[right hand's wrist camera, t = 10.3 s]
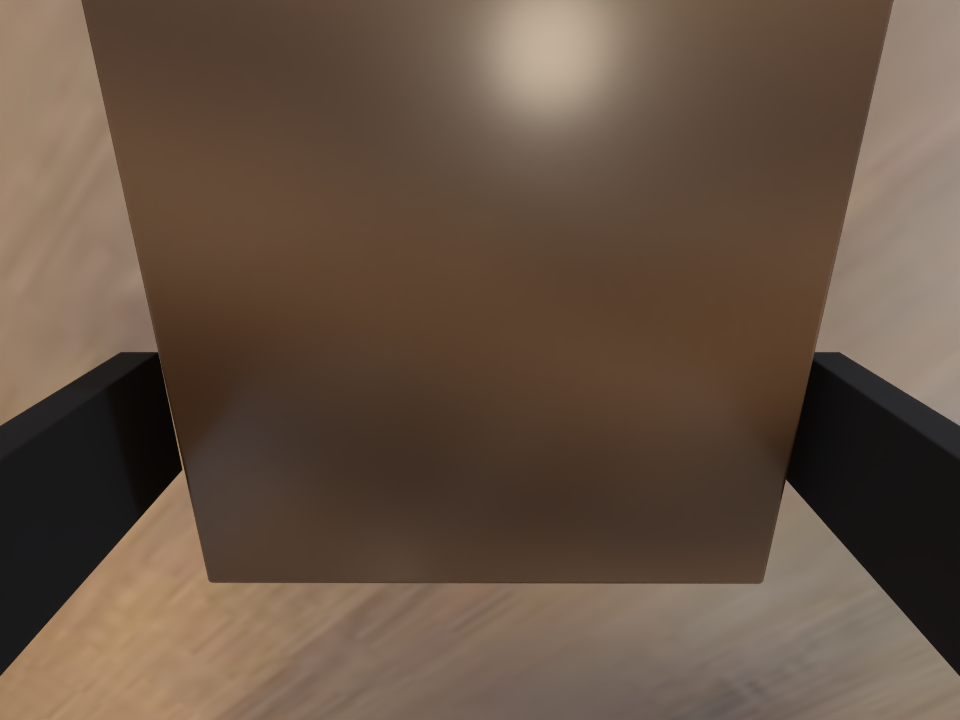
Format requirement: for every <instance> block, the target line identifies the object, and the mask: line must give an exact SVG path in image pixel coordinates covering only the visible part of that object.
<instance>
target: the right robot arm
mask: <svg viewBox="0 0 960 720" xmlns="http://www.w3.org/2000/svg"><path fill="white" fill-rule="evenodd" d="M181 471H182V465H181V460H180V456H179V451H178V446H177V441H176V436H175V431H174V426H173V422H172V417H171V412H170V407H169V402H168V397H167V393H166V388H165V383H164V378H163V373H162V368H161V363H160V359H159V354H158V352H120V353H119V354H117V355H116V356H114V357H112V358H111V359H109V360H107V361H106V362H104V363H102V364H101V365H99V366H98V367H96V368H94V369H93V370H91V371H89V372H88V373H86V374H84V375H83V376H81V377H80V378H78V379H76V380H75V381H73V382H71V383H70V384H68V385H67V386H65V387H63V388H62V389H60V390H58V391H57V392H55V393H53V394H52V395H50V396H49V397H47V398H45V399H44V400H42V401H40V402H39V403H37V404H35V405H34V406H32V407H31V408H29V409H27V410H26V411H24V412H22V413H21V414H19V415H17V416H16V417H14V418H13V419H11V420H9V421H8V422H6V423H4V424H3V425H1V426H0V676H1V675H2V674H3V672H4V671H5V670H6V669H7V668H8V667H9V666H10V664H11V663H12V662H13V661H14V660H15V659H16V658H17V657H18V655H19V654H20V653H21V652H22V651H23V650H24V649H25V647H26V646H27V645H28V644H29V643H30V642H31V641H32V640H33V638H34V637H35V636H36V635H37V634H38V633H39V632H40V631H41V629H42V628H43V627H44V626H45V625H46V624H47V623H48V621H49V620H50V619H51V618H52V617H53V616H54V615H55V614H56V612H57V611H58V610H59V609H60V608H61V607H62V606H63V604H64V603H65V602H66V601H67V600H68V599H69V598H70V597H71V595H72V594H73V593H74V592H75V591H76V590H77V589H78V587H79V586H80V585H81V584H82V583H83V582H84V581H85V580H86V578H87V577H88V576H89V575H90V574H91V573H92V572H93V570H94V569H95V568H96V567H97V566H98V565H99V564H100V563H101V561H102V560H103V559H104V558H105V557H106V556H107V555H108V553H109V552H110V551H111V550H112V549H113V548H114V547H115V546H116V544H117V543H118V542H119V541H120V540H121V539H122V538H123V536H124V535H125V534H126V533H127V532H128V531H129V530H130V529H131V527H132V526H133V525H134V524H135V523H136V522H137V521H138V519H139V518H140V517H141V516H142V515H143V514H144V513H145V512H146V510H147V509H148V508H149V507H150V506H151V505H152V504H153V502H154V501H155V500H156V499H157V498H158V497H159V496H160V495H161V493H162V492H163V491H164V490H165V489H166V488H167V487H168V485H169V484H170V483H171V482H172V481H173V480H174V479H175V478H176V476H177V475H178V474H179V473H180V472H181ZM786 480H787V481H788V482H789V483H790V484H791V485H792V487H793V488H794V489H795V490H796V491H797V492H798V493H799V495H800V496H801V497H802V498H803V499H804V500H805V501H806V502H807V504H808V505H809V506H810V507H811V508H812V509H813V510H814V512H815V513H816V514H817V515H818V516H819V517H820V518H821V519H822V521H823V522H824V523H825V524H826V525H827V526H828V527H829V529H830V530H831V531H832V532H833V533H834V534H835V535H836V536H837V538H838V539H839V540H840V541H841V542H842V543H843V544H844V546H845V547H846V548H847V549H848V550H849V551H850V552H851V553H852V555H853V556H854V557H855V558H856V559H857V560H858V561H859V563H860V564H861V565H862V566H863V567H864V568H865V569H866V570H867V572H868V573H869V574H870V575H871V576H872V577H873V578H874V580H875V581H876V582H877V583H878V584H879V585H880V586H881V587H882V589H883V590H884V591H885V592H886V593H887V594H888V595H889V597H890V598H891V599H892V600H893V601H894V602H895V603H896V604H897V606H898V607H899V608H900V609H901V610H902V611H903V612H904V614H905V615H906V616H907V617H908V618H909V619H910V620H911V621H912V623H913V624H914V625H915V626H916V627H917V628H918V629H919V631H920V632H921V633H922V634H923V635H924V636H925V637H926V638H927V640H928V641H929V642H930V643H931V644H932V645H933V646H934V647H935V649H936V650H937V651H938V652H939V653H940V654H941V655H942V657H943V658H944V659H945V660H946V661H947V662H948V663H949V664H950V666H951V667H952V668H953V669H954V670H955V671H956V672H957V674H958V675H959V676H960V426H959V425H957V424H956V423H954V422H952V421H951V420H949V419H947V418H946V417H944V416H943V415H941V414H939V413H938V412H936V411H934V410H933V409H931V408H929V407H928V406H926V405H925V404H923V403H921V402H920V401H918V400H916V399H915V398H913V397H911V396H910V395H908V394H907V393H905V392H903V391H902V390H900V389H898V388H897V387H895V386H893V385H892V384H890V383H889V382H887V381H885V380H884V379H882V378H880V377H879V376H877V375H875V374H874V373H872V372H871V371H869V370H867V369H866V368H864V367H862V366H861V365H859V364H858V363H856V362H854V361H853V360H851V359H849V358H848V357H846V356H844V355H843V354H841V353H840V352H814V356H813V361H812V365H811V370H810V374H809V378H808V383H807V387H806V392H805V396H804V401H803V405H802V410H801V414H800V418H799V423H798V427H797V432H796V436H795V441H794V445H793V450H792V454H791V458H790V463H789V467H788V472H787V476H786Z"/></svg>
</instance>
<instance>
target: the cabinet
mask: <svg viewBox="0 0 960 720" xmlns="http://www.w3.org/2000/svg"><path fill="white" fill-rule="evenodd" d="M82 4H83V9H84V14H85V18H86V23H87V27H88V32H89V36H90V41H91V46H92V50H93V55H94V59H95V64H96V68H97V73H98V77H99V82H100V87H101V91H102V96H103V100H104V105H105V109H106V114H107V119H108V123H109V128H110V132H111V137H112V141H113V146H114V151H115V155H116V160H117V164H118V169H119V173H120V178H121V182H122V187H123V192H124V196H125V201H126V205H127V210H128V214H129V219H130V224H131V228H132V233H133V237H134V242H135V246H136V251H137V256H138V260H139V265H140V269H141V274H142V278H143V283H144V288H145V292H146V297H147V301H148V306H149V310H150V315H151V319H152V324H153V329H154V333H155V338H156V342H157V347H158V351H159V356H160V361H161V365H162V370H163V374H164V379H165V383H166V388H167V393H168V397H169V402H170V406H171V411H172V415H173V420H174V424H175V429H176V434H177V438H178V443H179V447H180V452H181V456H182V461H183V466H184V470H185V475H186V479H187V484H188V488H189V493H190V498H191V502H192V507H193V511H194V516H195V520H196V525H197V529H198V534H199V539H200V543H201V548H202V552H203V557H204V561H205V566H206V571H207V575H208V580H209V581H210V582H212V583H718V584H759V583H762V582H763V579H764V574H765V570H766V565H767V561H768V556H769V552H770V547H771V543H772V539H773V534H774V530H775V525H776V521H777V516H778V512H779V507H780V503H781V499H782V494H783V490H784V485H785V481H786V476H787V472H788V467H789V463H790V458H791V454H792V450H793V445H794V441H795V436H796V432H797V427H798V423H799V418H800V414H801V410H802V405H803V401H804V396H805V392H806V387H807V383H808V378H809V374H810V370H811V365H812V361H813V356H814V352H815V347H816V343H817V338H818V334H819V329H820V325H821V321H822V316H823V312H824V307H825V303H826V298H827V294H828V289H829V285H830V281H831V276H832V272H833V267H834V263H835V258H836V254H837V249H838V245H839V240H840V236H841V232H842V227H843V223H844V218H845V214H846V209H847V205H848V200H849V196H850V192H851V187H852V183H853V178H854V174H855V169H856V165H857V160H858V156H859V152H860V147H861V143H862V138H863V134H864V129H865V125H866V120H867V116H868V111H869V107H870V103H871V98H872V94H873V89H874V85H875V80H876V76H877V71H878V67H879V63H880V58H881V54H882V49H883V45H884V40H885V36H886V31H887V27H888V23H889V18H890V14H891V9H892V5H893V0H82Z"/></svg>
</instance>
